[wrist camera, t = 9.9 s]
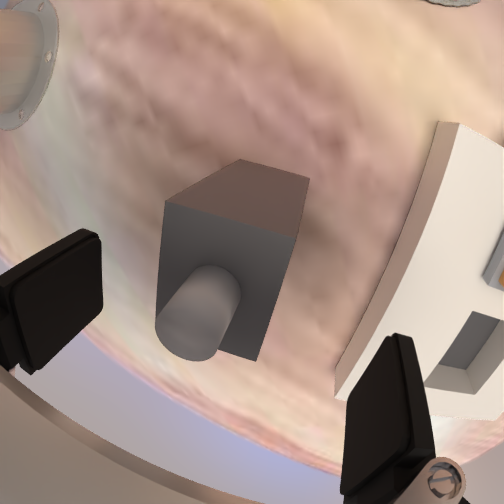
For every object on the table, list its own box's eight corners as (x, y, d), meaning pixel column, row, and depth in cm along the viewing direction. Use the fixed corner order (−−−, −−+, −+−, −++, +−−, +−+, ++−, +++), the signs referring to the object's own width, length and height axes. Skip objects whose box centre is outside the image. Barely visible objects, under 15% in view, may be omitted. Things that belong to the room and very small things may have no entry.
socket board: (335, 368, 22) (334, 398, 19) (438, 121, 14) (459, 123, 11) (486, 396, 20) (494, 420, 17) (590, 219, 12) (612, 234, 9)
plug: (223, 238, 19) (124, 367, 9) (240, 159, 17) (120, 228, 7) (286, 257, 19) (240, 412, 9) (309, 178, 17) (286, 280, 7)
